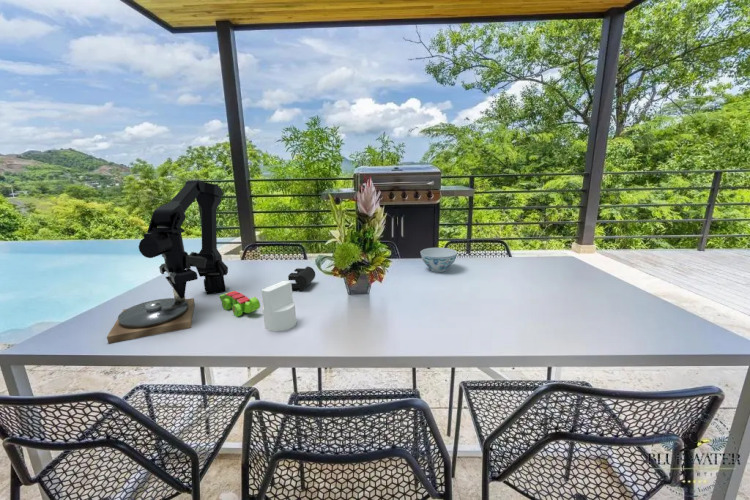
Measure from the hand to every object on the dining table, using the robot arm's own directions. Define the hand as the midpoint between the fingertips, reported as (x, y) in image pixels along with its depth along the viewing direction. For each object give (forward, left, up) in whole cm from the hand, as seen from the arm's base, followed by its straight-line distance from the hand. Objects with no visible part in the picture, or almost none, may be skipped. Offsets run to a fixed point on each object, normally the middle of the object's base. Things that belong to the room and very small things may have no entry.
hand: (182, 297), depth 110 cm
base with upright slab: (-26, +22, -6) cm, 35 cm away
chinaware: (-95, +1, -6) cm, 95 cm away
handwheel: (+8, +2, -3) cm, 8 cm away
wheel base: (+8, +2, -6) cm, 10 cm away
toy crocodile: (-16, +4, -6) cm, 18 cm away
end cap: (-39, -6, -6) cm, 40 cm away
